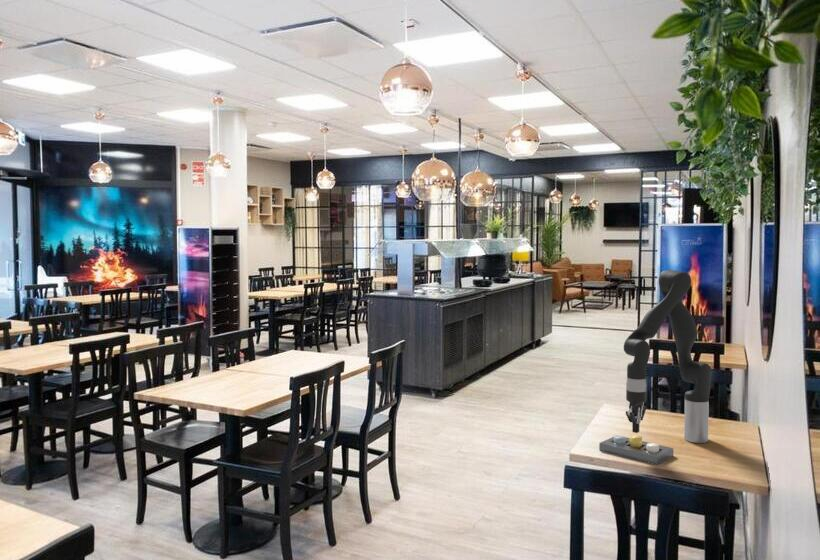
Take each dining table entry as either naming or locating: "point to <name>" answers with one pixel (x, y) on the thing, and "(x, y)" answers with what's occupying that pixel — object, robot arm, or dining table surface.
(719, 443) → the dining table surface
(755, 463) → the dining table surface
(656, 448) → the button ivory
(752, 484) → the dining table surface
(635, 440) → the button mustard
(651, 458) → the panel
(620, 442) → the button blue
